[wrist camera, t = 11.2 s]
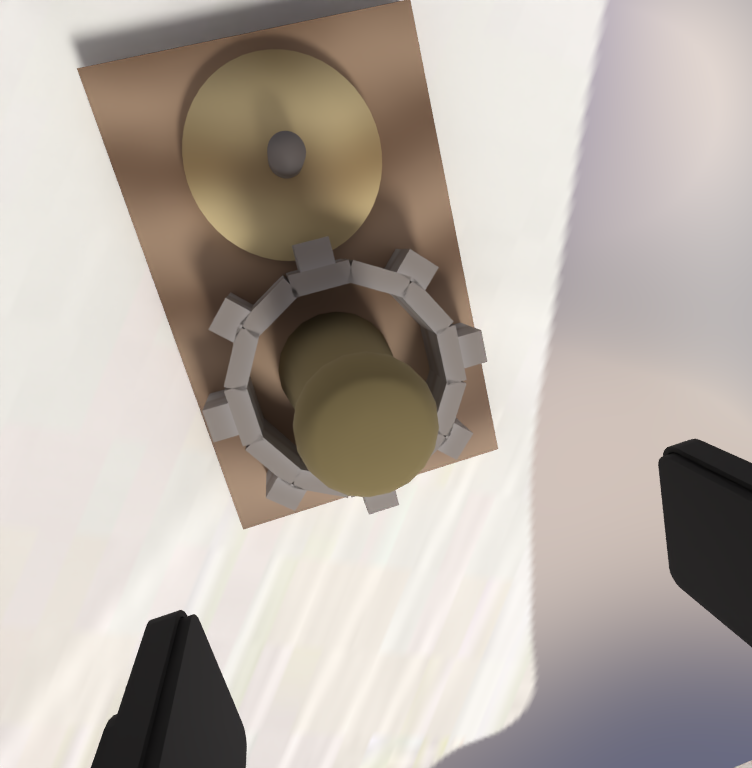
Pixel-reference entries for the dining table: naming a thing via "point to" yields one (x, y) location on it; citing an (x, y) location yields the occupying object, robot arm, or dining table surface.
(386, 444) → the cork
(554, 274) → the dining table surface
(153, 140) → the gear board
